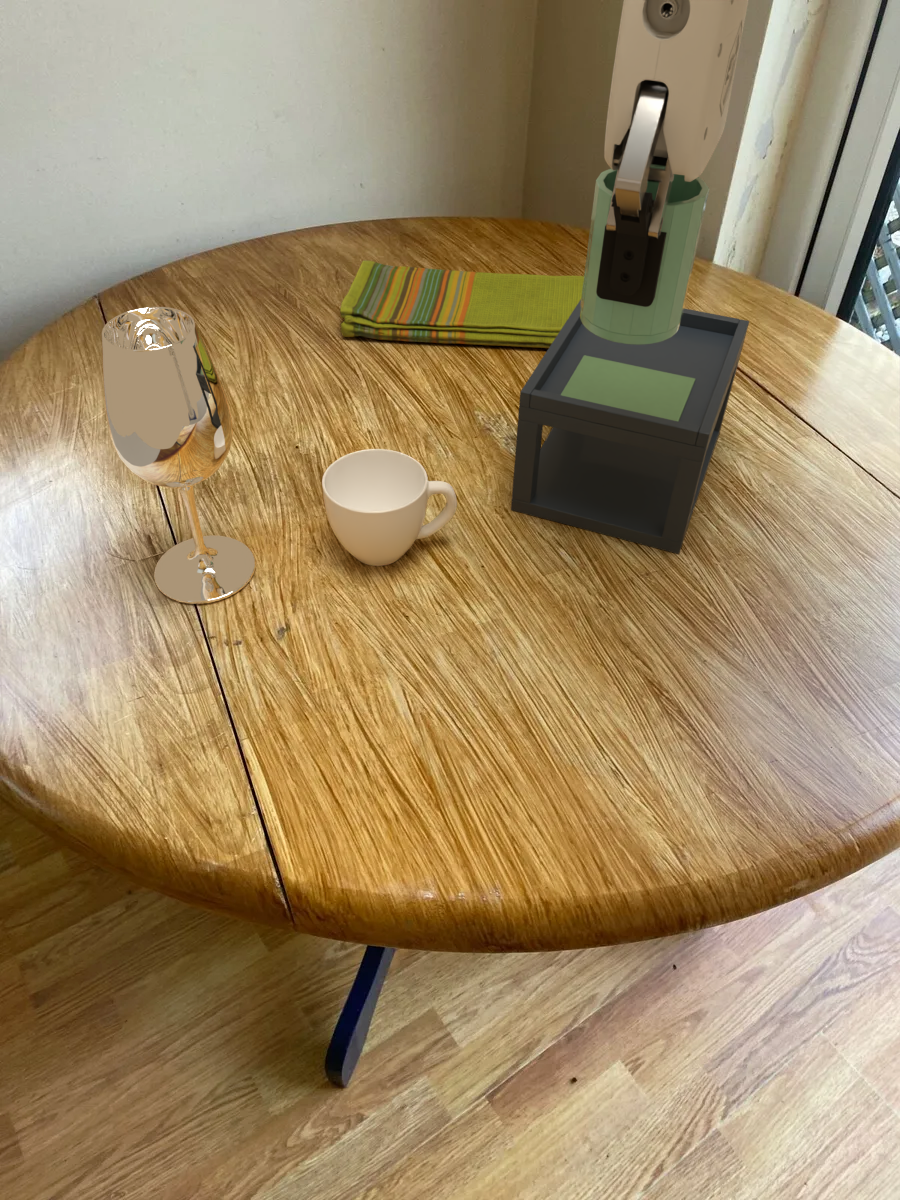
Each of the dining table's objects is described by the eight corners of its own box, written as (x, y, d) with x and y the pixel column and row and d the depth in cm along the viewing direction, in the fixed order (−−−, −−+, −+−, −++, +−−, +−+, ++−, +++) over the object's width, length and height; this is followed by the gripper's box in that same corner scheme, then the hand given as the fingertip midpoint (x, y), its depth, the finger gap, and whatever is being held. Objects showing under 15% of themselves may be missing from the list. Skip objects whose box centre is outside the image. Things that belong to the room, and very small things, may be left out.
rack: (719, 434, 83) (749, 320, 75) (678, 554, 71) (709, 434, 63) (572, 401, 87) (586, 289, 79) (510, 510, 75) (520, 391, 67)
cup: (326, 521, 73) (319, 452, 69) (448, 511, 74) (449, 442, 70) (331, 586, 68) (324, 516, 63) (463, 574, 69) (466, 504, 64)
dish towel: (360, 275, 105) (358, 247, 103) (670, 291, 103) (676, 263, 101) (338, 340, 94) (335, 311, 92) (684, 360, 92) (691, 331, 90)
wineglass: (226, 617, 65) (170, 370, 51) (132, 591, 67) (53, 346, 53) (275, 549, 71) (237, 309, 57) (187, 527, 72) (129, 289, 58)
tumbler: (688, 307, 56) (716, 173, 51) (668, 353, 52) (697, 212, 47) (594, 290, 58) (611, 157, 52) (568, 333, 54) (584, 194, 48)
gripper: (764, -79, 34) (672, 358, 46) (809, -131, 45) (725, 230, 58) (569, -94, 35) (532, 330, 48) (660, -141, 47) (610, 211, 60)
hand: (638, 272), depth 53 cm, fingers closed on tumbler, 6 cm apart
